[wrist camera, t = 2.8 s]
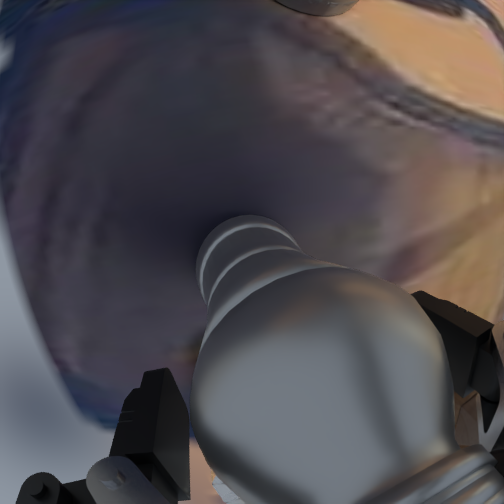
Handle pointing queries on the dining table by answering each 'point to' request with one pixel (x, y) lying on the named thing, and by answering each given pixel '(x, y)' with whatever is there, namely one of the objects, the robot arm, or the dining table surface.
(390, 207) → the dining table surface
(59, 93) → the dining table surface
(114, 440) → the robot arm
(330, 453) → the plastic bottle
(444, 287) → the dining table surface
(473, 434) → the wooden wedge with rod
